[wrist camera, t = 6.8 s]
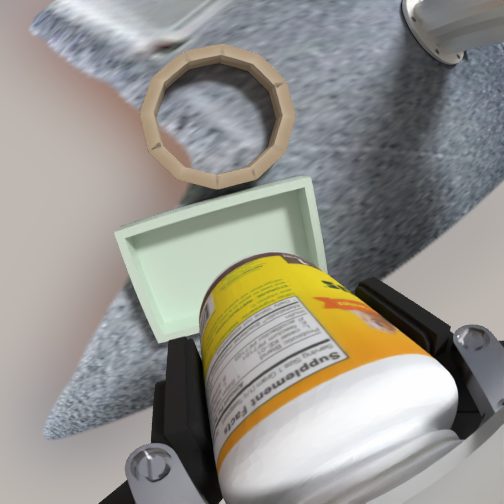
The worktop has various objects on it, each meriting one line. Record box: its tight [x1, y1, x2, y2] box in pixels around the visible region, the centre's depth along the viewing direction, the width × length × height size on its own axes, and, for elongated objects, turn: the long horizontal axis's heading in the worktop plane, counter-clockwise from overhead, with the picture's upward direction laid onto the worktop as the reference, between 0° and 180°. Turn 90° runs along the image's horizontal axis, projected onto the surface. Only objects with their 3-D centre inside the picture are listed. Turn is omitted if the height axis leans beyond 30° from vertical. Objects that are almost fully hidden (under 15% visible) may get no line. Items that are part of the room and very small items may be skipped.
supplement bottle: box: [199, 251, 465, 504], centre depth 7 cm, size 6×6×10 cm
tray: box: [114, 176, 328, 344], centre depth 27 cm, size 18×12×3 cm, turn 104°
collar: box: [140, 44, 296, 190], centre depth 24 cm, size 13×13×2 cm
